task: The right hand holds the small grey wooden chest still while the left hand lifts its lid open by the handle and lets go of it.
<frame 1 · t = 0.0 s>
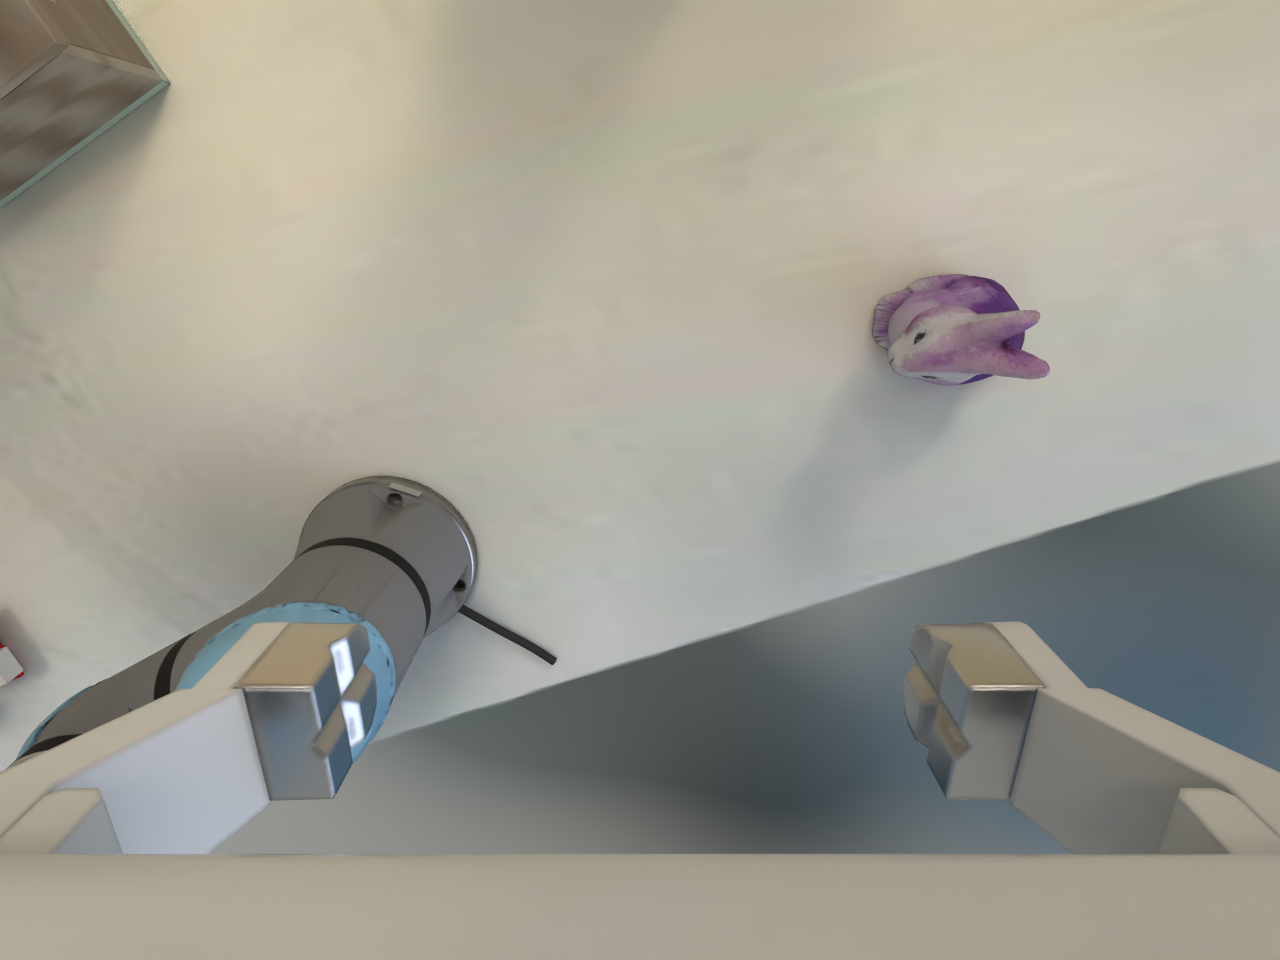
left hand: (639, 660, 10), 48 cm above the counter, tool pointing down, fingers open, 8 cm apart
chest: (34, 84, 50), on the counter
figurine: (925, 327, 56), on the counter
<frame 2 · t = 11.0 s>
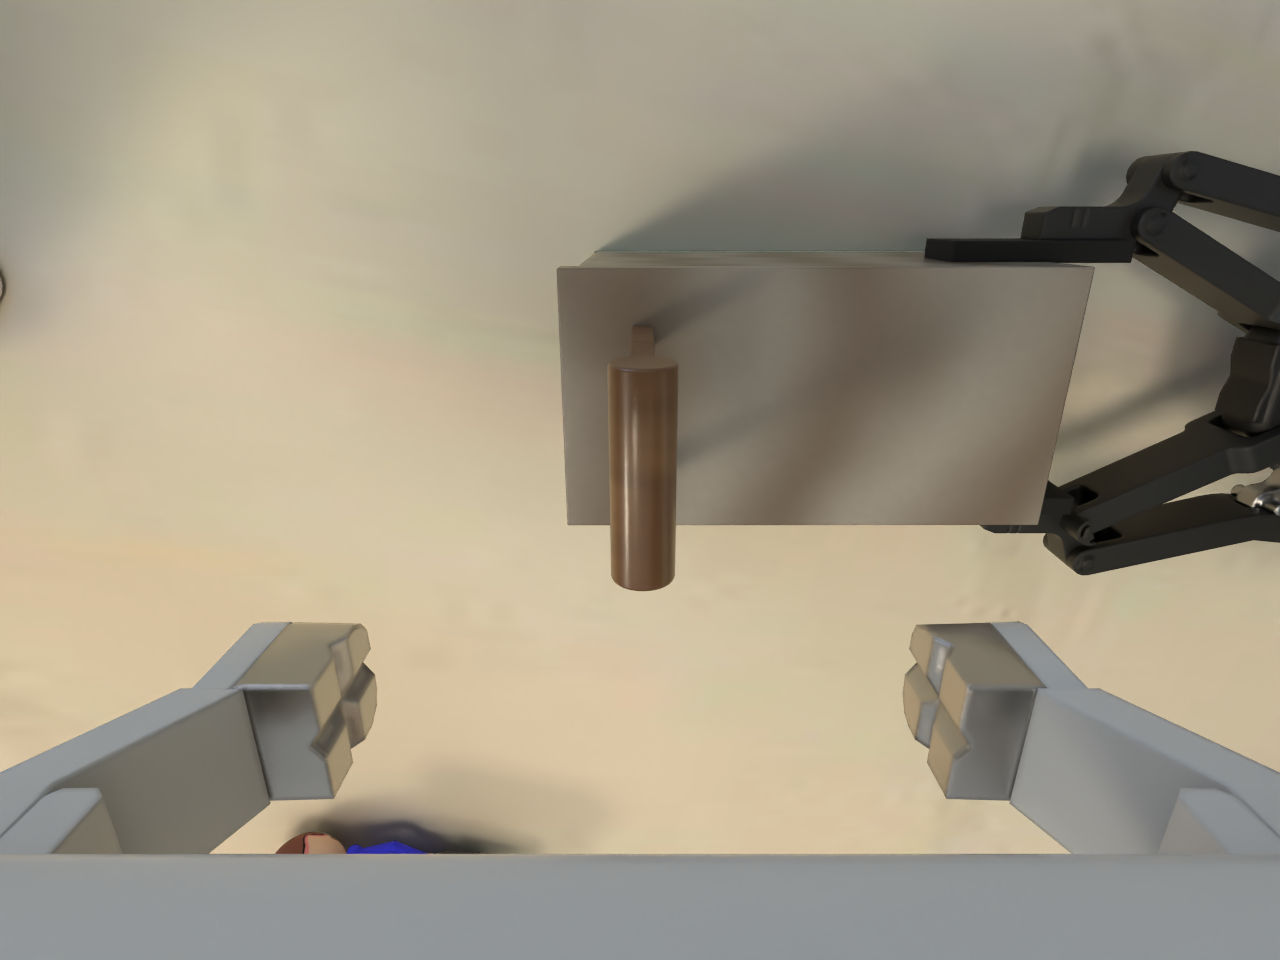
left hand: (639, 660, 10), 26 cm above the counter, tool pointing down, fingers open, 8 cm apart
right hand: (920, 380, 28), fingers closed on chest, 9 cm apart
chest: (769, 349, 35), on the counter, touching right hand
figurine character: (402, 852, 47), on the counter
lid: (839, 434, 21), point 14 cm above the counter, hinge at 0.0°
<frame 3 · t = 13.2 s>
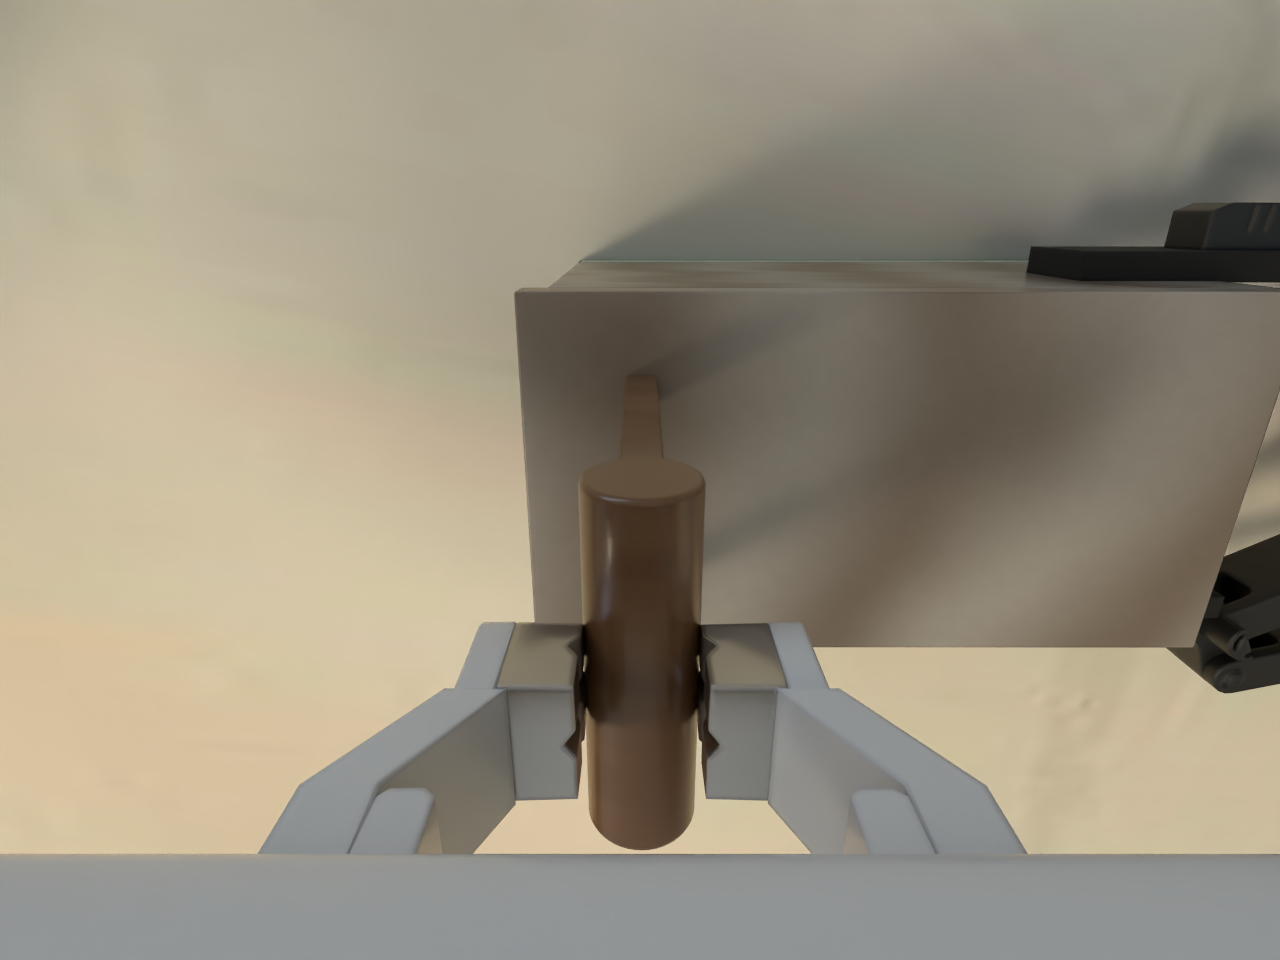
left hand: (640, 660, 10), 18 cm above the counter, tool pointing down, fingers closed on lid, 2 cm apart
chest: (802, 384, 27), on the counter, touching right hand
lid: (945, 552, 14), point 14 cm above the counter, hinge at 0.0°, touching left hand
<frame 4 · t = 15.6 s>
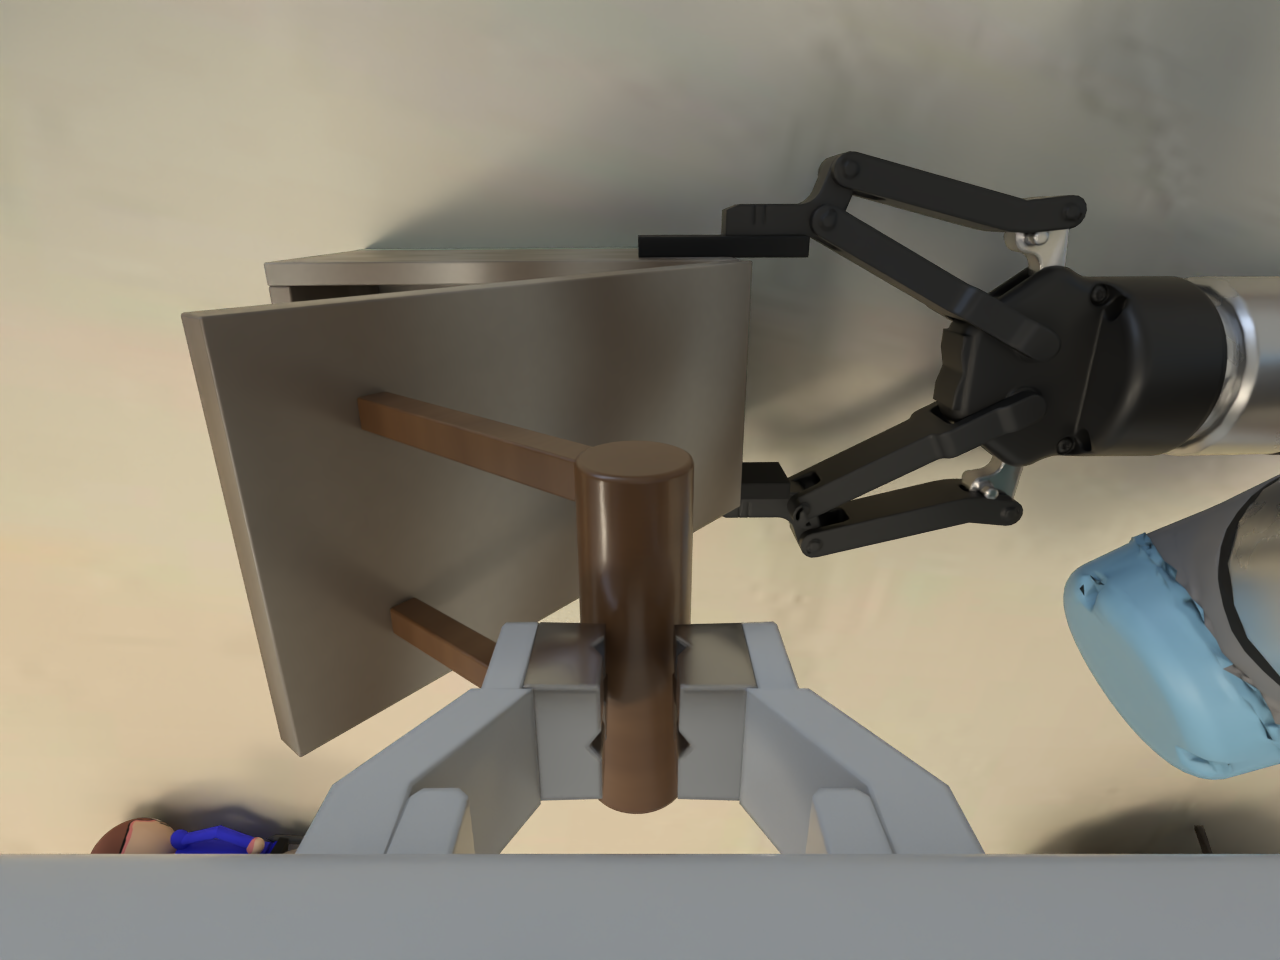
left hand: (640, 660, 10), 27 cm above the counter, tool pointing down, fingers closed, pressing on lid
right hand: (639, 370, 30), fingers closed on chest, 9 cm apart
chest: (542, 343, 36), on the counter, touching right hand
figurine character: (237, 837, 48), on the counter
lid: (681, 477, 18), point 20 cm above the counter, hinge at 49.9°, touching left hand
when the right hand's fingers open (7 cm above the counter, at t = 20.7 s): chest stays where it is, on the counter.
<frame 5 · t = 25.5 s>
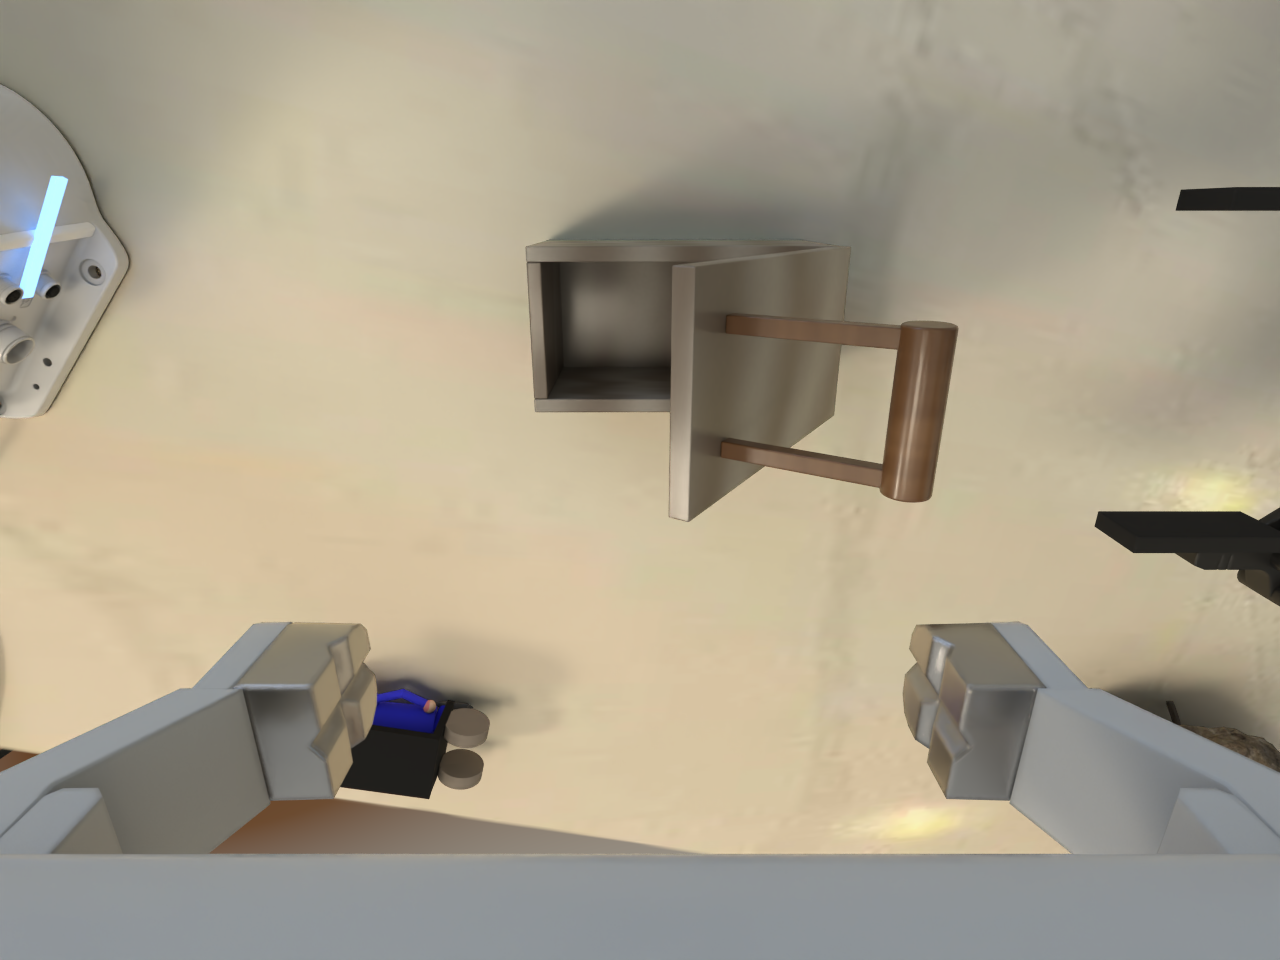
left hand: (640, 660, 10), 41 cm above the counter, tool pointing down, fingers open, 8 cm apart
fossil: (1137, 731, 62), on the counter
chest: (673, 310, 49), on the counter
figurine character: (408, 705, 61), on the counter
lid: (861, 369, 30), point 20 cm above the counter, hinge at 57.9°
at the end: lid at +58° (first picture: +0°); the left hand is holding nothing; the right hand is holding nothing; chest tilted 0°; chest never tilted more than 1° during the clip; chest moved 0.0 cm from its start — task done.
